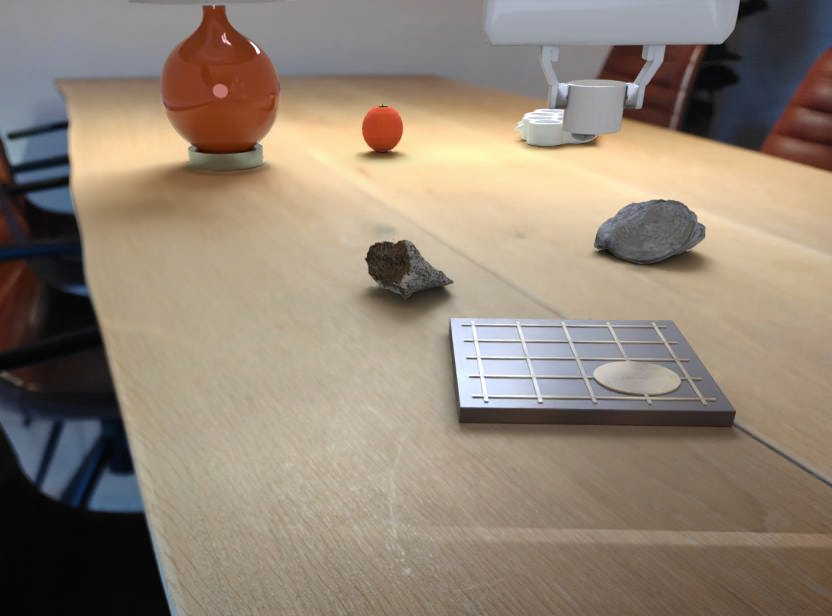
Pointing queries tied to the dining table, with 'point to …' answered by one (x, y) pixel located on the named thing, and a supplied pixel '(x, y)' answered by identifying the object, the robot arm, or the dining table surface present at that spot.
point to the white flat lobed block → (548, 129)
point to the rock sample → (402, 268)
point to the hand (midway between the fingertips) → (594, 108)
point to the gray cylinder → (594, 107)
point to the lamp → (219, 89)
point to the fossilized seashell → (650, 231)
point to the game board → (581, 373)
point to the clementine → (382, 128)
